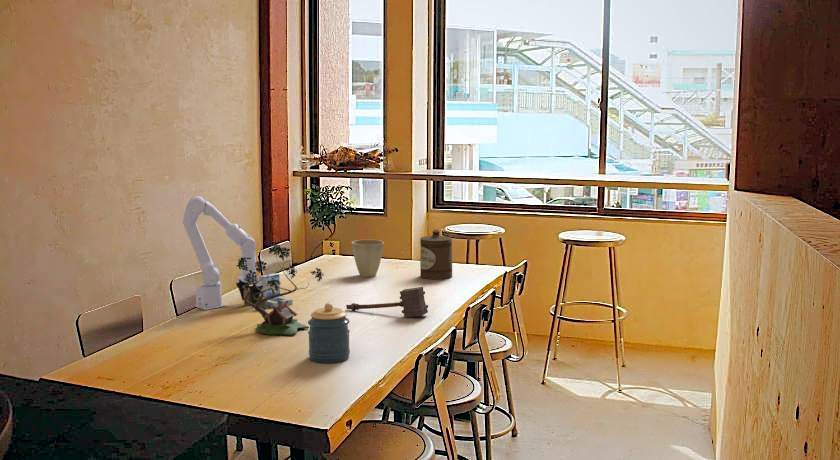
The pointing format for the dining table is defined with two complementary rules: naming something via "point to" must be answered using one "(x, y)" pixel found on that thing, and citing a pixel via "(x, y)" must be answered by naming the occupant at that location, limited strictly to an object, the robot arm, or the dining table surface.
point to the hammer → (402, 303)
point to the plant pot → (367, 256)
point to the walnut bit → (247, 297)
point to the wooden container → (436, 256)
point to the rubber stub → (263, 305)
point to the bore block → (274, 301)
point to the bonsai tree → (282, 315)
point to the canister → (328, 335)
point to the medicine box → (264, 283)
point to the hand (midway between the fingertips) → (249, 301)
